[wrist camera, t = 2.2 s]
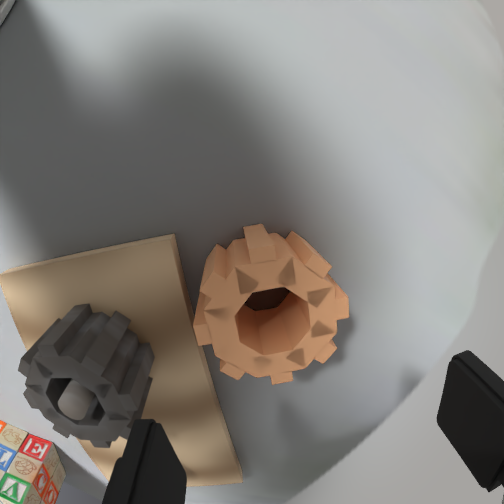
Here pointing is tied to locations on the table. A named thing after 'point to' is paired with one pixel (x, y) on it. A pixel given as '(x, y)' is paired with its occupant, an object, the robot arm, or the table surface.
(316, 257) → the loose gear
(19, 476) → the stack of blocks
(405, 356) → the table surface
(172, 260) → the gear board
